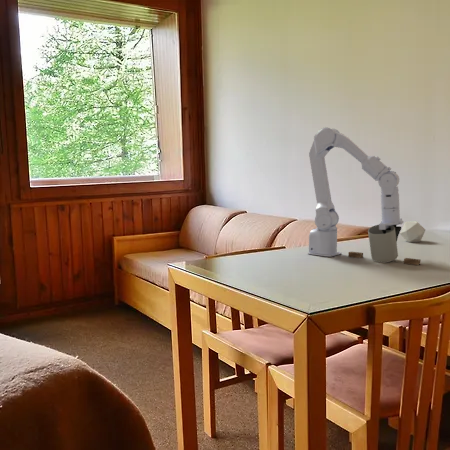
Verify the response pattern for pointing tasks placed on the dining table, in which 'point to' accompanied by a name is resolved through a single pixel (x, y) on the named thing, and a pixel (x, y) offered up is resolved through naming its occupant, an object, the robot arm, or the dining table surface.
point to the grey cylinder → (383, 244)
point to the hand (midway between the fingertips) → (391, 248)
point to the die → (412, 231)
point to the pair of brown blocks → (406, 260)
